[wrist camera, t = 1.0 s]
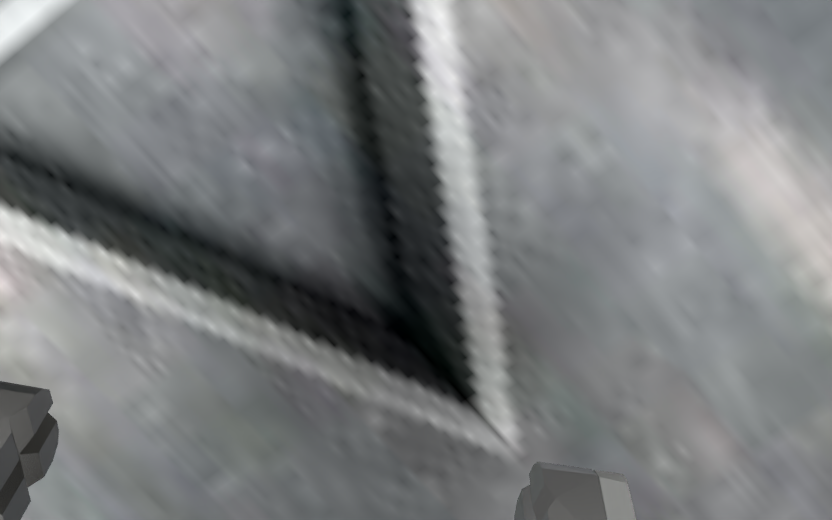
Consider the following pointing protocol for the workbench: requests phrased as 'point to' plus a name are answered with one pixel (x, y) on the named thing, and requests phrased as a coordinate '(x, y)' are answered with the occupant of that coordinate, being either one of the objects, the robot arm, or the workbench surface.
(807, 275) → the workbench surface
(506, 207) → the workbench surface
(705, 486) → the workbench surface
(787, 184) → the workbench surface
